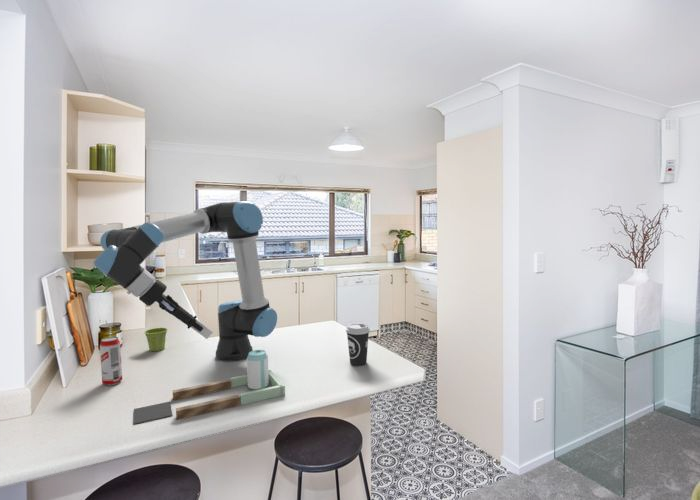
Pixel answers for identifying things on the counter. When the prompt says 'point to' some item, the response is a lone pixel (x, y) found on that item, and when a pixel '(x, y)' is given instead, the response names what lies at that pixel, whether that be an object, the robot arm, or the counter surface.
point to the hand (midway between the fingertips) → (209, 335)
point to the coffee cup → (358, 343)
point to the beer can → (111, 361)
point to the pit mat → (152, 412)
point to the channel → (204, 406)
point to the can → (257, 370)
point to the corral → (259, 394)
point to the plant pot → (156, 338)
